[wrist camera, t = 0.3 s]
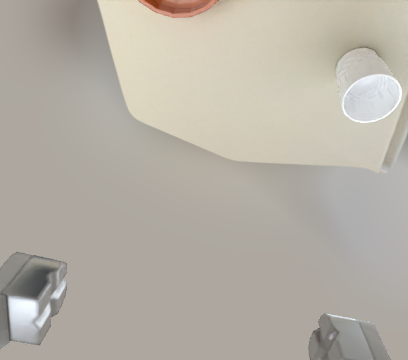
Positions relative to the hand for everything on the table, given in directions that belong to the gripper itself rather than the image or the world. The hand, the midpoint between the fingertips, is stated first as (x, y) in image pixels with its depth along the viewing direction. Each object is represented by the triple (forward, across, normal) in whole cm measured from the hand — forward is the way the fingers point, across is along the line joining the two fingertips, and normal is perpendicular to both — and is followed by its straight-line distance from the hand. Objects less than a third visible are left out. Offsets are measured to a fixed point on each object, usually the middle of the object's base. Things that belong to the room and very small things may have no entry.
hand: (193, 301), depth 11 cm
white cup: (+52, -22, -4) cm, 57 cm away
